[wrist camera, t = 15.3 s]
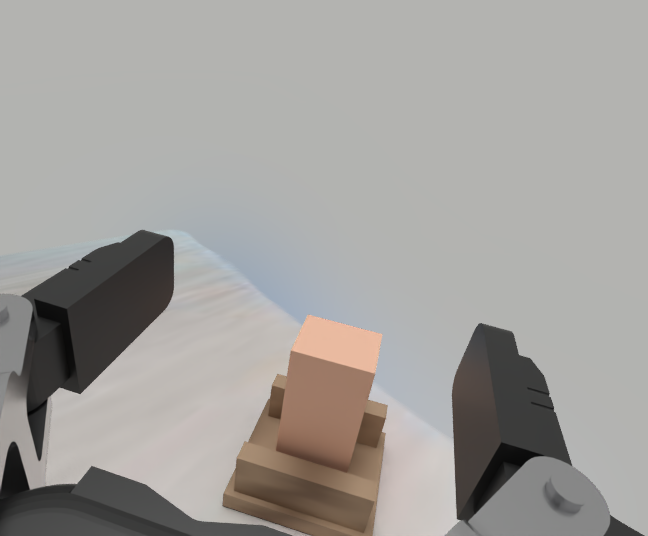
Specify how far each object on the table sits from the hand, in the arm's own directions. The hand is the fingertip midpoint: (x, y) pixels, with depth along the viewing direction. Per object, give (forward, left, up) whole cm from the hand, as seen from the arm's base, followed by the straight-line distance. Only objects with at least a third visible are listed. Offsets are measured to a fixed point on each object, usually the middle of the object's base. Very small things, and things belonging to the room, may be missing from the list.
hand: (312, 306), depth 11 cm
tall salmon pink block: (+4, +9, -19) cm, 21 cm away
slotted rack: (+4, +9, -20) cm, 22 cm away
